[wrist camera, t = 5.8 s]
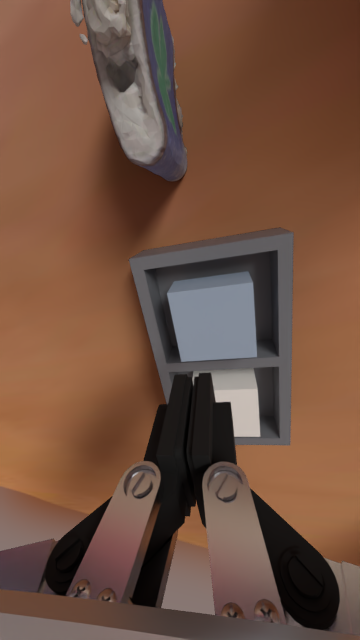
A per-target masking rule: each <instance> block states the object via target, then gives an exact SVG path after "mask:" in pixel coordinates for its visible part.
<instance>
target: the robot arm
mask: <svg viewBox="0 0 360 640" xmlns="http://www.w3.org/2000/svg"><path fill="white" fill-rule="evenodd" d="M196 501H197V505H198V509H199V513H200V517H201V520H202V524H203V525H204V526H205V528H206V529H207V538H208V548H209V556H210V557H209V558H210V568H211V577H212V588H213V598H214V607H215V615H209V614H202V613H194V612H186V611H178V610H171V609H163V608H161V606H162V602H163V597H164V593H165V589H166V584H167V580H168V576H169V571H170V567H171V562H172V558H173V554H174V549H175V545H176V541H177V536H178V529H179V528H180V527H181V526H182V525H183V524H184V521H185V516H190V510H191V506H193V507H195V505H196ZM0 640H360V567H359V566H356V565H353V564H350V563H347V562H344V561H342V562H341V564H340V563H337V562H335V561H332V560H329V559H326V558H323V556H322V555H321V554H320V553H319V552H318V551H317V550H316V549H315V548H314V547H313V546H311V545H310V544H309V543H308V542H307V541H306V540H305V539H304V538H303V537H302V536H301V535H300V534H299V533H298V532H296V531H295V530H294V529H293V528H292V527H291V526H290V525H289V524H288V523H287V522H286V521H285V520H284V519H283V518H282V517H280V516H279V515H278V514H277V513H276V512H275V511H274V510H273V509H272V508H271V507H270V506H269V505H268V504H267V503H265V502H264V501H263V500H262V499H261V498H260V497H259V496H258V495H257V494H256V493H255V492H254V491H253V490H252V489H250V487H249V483H248V480H247V477H246V475H245V473H244V472H243V471H242V469H241V468H240V467H238V466H237V461H236V450H235V438H234V427H233V418H232V409H231V402H216V400H215V394H214V387H213V381H212V375H211V372H209V373H199V376H197V377H194V386H193V381H192V377H188V376H187V374H178V375H175V376H174V379H173V384H172V388H171V393H170V397H169V401H168V404H163V405H159V407H158V410H157V413H156V417H155V421H154V424H153V428H152V432H151V435H150V439H149V443H148V446H147V450H146V454H145V457H144V461H141V462H138V463H135V464H134V465H132V466H130V467H129V468H128V469H127V470H126V471H125V473H124V474H123V476H122V477H121V479H120V482H119V484H118V486H117V488H116V490H115V492H114V494H113V496H112V497H111V498H110V499H108V500H107V501H106V502H105V503H104V504H102V505H101V506H100V507H99V508H97V509H96V510H95V511H94V512H92V513H91V514H90V515H89V516H88V517H86V518H85V519H84V520H83V521H81V522H80V523H79V524H78V525H76V526H75V527H74V528H73V529H72V530H70V531H69V532H68V533H67V534H66V535H64V536H63V537H62V538H61V539H60V540H58V541H55V540H54V539H49V540H45V541H41V542H36V543H32V544H28V545H24V546H19V547H15V548H11V549H7V550H3V551H0Z"/></svg>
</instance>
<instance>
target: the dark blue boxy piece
mask: <svg viewBox="0 0 360 640" xmlns="http://www.w3.org/2000/svg"><path fill="white" fill-rule="evenodd" d="M70 4H71V16H72V20H73V22H74V23H75V25H76V26H78V27H79V25H80V23H81V22H82V20H83V18H84V17H85V22H86V26H87V31H88V40H89V42H90V45H91V51H92V55H93V60H94V64H95V68H96V72H97V77H98V80H99V83H100V86H101V89H102V92H103V96H104V99H105V103H106V106H107V109H108V112H109V115H110V118H111V122H112V125H113V128H114V130H115V133H116V136H117V138H118V140H119V144H120V147H121V148H122V149H123V151H124V153H125V155H126V157H127V158H128V160H130V161H131V162H132V163H134V164H137V165H138V166H141V167H143V168H146V169H147V170H149V171H151V172H153V173H154V174H157V175H160V176H161V177H163V178H164V179H165V180H167V181H177V180H179V179H181V178H182V177H183V176H184V174H185V172H186V170H187V151H186V150H187V149H186V147H185V146H184V144H183V135H182V127H183V123H182V117H183V116H182V113H181V107H180V105H178V101H177V98H176V89H177V88H178V86H177V84H176V81H175V78H174V68H175V65H176V63H175V57H174V53H175V50H174V45H173V44H174V43H173V42H174V41H173V37H172V35H171V32H170V28H169V25H168V21H167V17H166V13H165V10H164V6H163V2H162V0H82V4H83V11H84V17H83V15H82V8H81V0H71V1H70ZM80 38H81V40H82V42H83V43H84V44H86V45H87V38H86V37H85V35H83V34H80Z"/></svg>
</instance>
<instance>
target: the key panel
mask: <svg viewBox="0 0 360 640" xmlns="http://www.w3.org/2000/svg"><path fill="white" fill-rule="evenodd" d="M129 262H130V266H131V270H132V274H133V277H134V281H135V285H136V289H137V293H138V296H139V300H140V304H141V308H142V312H143V315H144V319H145V323H146V327H147V331H148V334H149V338H150V342H151V346H152V350H153V353H154V357H155V361H156V365H157V369H158V372H159V376H160V380H161V384H162V388H163V391H164V395H165V399H166V403H167V404H168V401H169V397H170V393H171V388H172V384H173V379H174V376H175V375H178V374H187V376H188V377H192V378H193V371H206V370H225V369H244V368H253V369H254V373H255V378H256V383H257V388H258V404H259V421H260V437H234V438H235V445H290V426H291V360H292V294H293V232H291V231H288V230H285V229H283V228H274V229H268V230H262V231H256V232H250V233H244V234H238V235H232V236H226V237H220V238H214V239H208V240H202V241H196V242H190V243H184V244H178V245H172V246H166V247H160V248H154V249H148V250H143V251H141V252H140V253H138V254H136V255H135V256H133V257H131V258H130V259H129ZM247 271H248V272H249V274H250V276H251V279H252V281H253V291H254V309H255V327H256V346H257V357H251V358H235V359H218V360H202V361H186V362H181V357H180V353H179V348H178V343H177V338H176V334H175V329H174V324H173V319H172V315H171V310H170V305H169V300H168V296H167V292H168V291H169V289H170V287H171V286H172V284H173V282H174V281H180V280H187V279H195V278H202V277H210V276H217V275H224V274H232V273H239V272H247Z"/></svg>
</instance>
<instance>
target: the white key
mask: <svg viewBox="0 0 360 640" xmlns="http://www.w3.org/2000/svg"><path fill="white" fill-rule="evenodd" d="M209 372H211V375H212V381H213V387H214V394H215V400H216V402H231V409H232V418H233V427H234V437H260V421H259V404H258V388H257V383H256V378H255V373H254V369H253V368H244V369H225V370H206V371H193V378H192V381H193V386H194V377H197V376H199V373H209Z"/></svg>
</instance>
